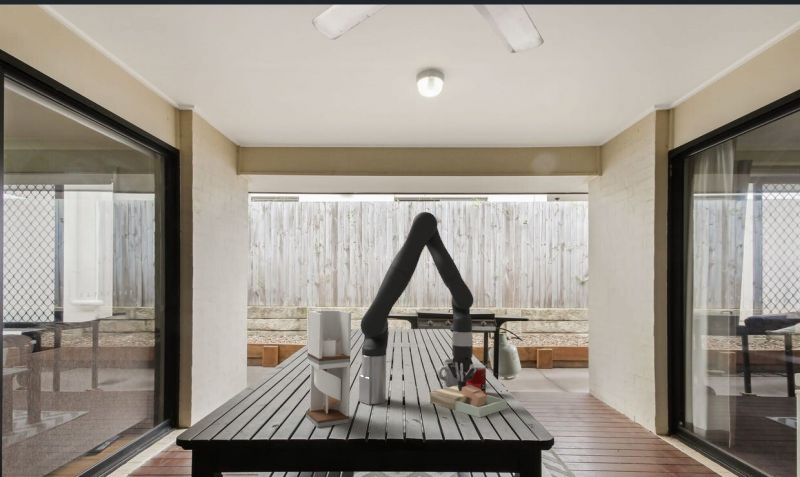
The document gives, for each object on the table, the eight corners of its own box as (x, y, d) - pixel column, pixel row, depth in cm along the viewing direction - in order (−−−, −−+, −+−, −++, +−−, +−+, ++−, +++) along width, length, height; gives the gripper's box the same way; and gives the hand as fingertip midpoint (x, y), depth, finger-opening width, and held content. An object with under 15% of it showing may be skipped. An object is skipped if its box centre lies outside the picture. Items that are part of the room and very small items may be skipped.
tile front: (469, 406, 165) (475, 410, 164) (473, 393, 165) (478, 397, 163) (478, 403, 169) (483, 407, 167) (481, 391, 168) (487, 395, 166)
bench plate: (454, 410, 163) (454, 398, 164) (430, 402, 172) (430, 391, 172) (482, 401, 174) (482, 391, 174) (458, 395, 183) (458, 384, 183)
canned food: (485, 397, 181) (485, 368, 182) (465, 395, 182) (465, 367, 183) (486, 392, 188) (486, 364, 189) (466, 390, 190) (466, 363, 191)
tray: (479, 417, 155) (479, 408, 156) (455, 410, 163) (455, 401, 164) (506, 408, 166) (506, 400, 166) (482, 402, 174) (482, 393, 174)
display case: (306, 417, 154) (308, 311, 156) (336, 412, 159) (338, 310, 161) (317, 427, 144) (320, 314, 146) (349, 422, 149) (351, 312, 151)
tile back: (472, 398, 165) (473, 392, 165) (461, 393, 169) (462, 387, 169) (480, 396, 169) (481, 389, 169) (469, 391, 172) (470, 384, 172)
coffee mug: (463, 381, 206) (463, 358, 207) (470, 387, 196) (470, 363, 197) (434, 382, 204) (434, 359, 204) (440, 388, 194) (440, 363, 194)
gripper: (442, 342, 175) (442, 389, 174) (469, 347, 165) (469, 396, 164) (455, 340, 180) (455, 385, 179) (482, 344, 170) (482, 392, 169)
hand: (462, 390), depth 172 cm, fingers closed
